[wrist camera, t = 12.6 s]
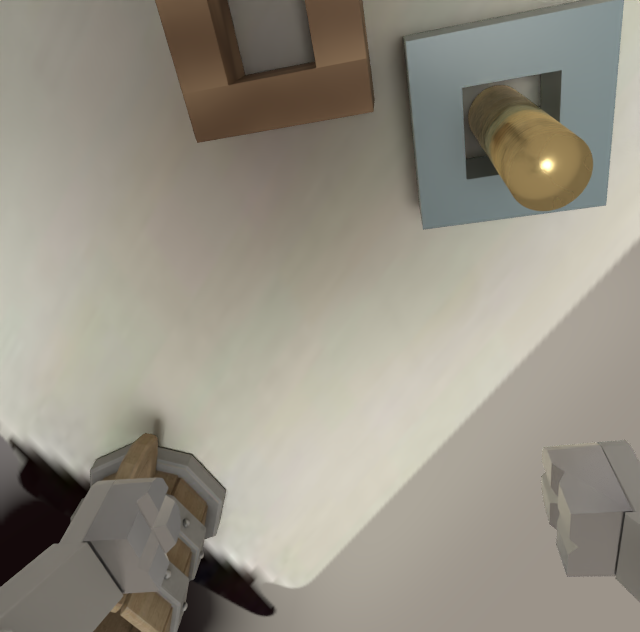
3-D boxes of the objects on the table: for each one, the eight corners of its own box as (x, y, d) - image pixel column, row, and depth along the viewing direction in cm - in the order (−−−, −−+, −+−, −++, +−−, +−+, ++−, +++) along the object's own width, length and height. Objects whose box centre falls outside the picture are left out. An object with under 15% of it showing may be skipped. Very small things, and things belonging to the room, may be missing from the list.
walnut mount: (163, -64, 28) (133, -72, 25) (348, -111, 27) (342, -127, 23) (216, 127, 33) (197, 142, 30) (374, 99, 32) (373, 111, 28)
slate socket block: (403, 36, 30) (405, 41, 26) (594, -2, 28) (624, -2, 24) (419, 206, 35) (423, 229, 31) (583, 183, 33) (606, 205, 29)
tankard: (215, 543, 56) (165, 707, 43) (97, 516, 55) (11, 672, 43) (243, 404, 45) (187, 565, 32) (97, 369, 45) (-17, 518, 32)
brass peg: (466, 90, 31) (507, 138, 21) (524, 80, 30) (596, 124, 20) (469, 146, 32) (508, 216, 22) (524, 137, 32) (590, 205, 22)
